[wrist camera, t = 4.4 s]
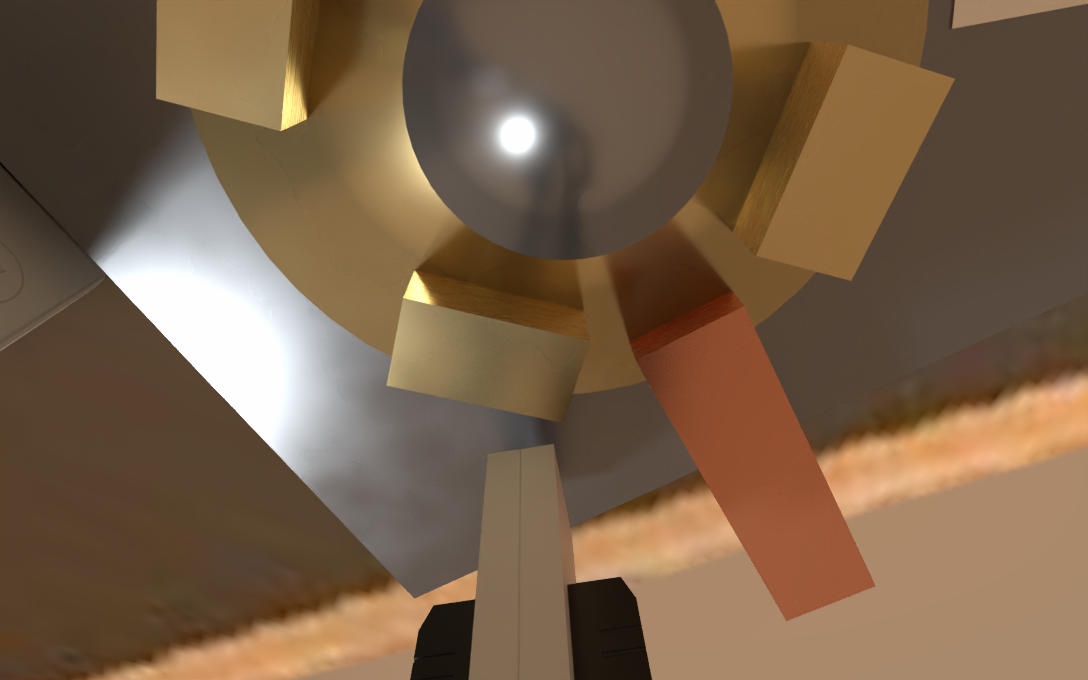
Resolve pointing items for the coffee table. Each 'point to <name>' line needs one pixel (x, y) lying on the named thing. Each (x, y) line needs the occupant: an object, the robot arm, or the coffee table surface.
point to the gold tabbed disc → (582, 284)
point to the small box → (36, 264)
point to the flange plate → (609, 439)
